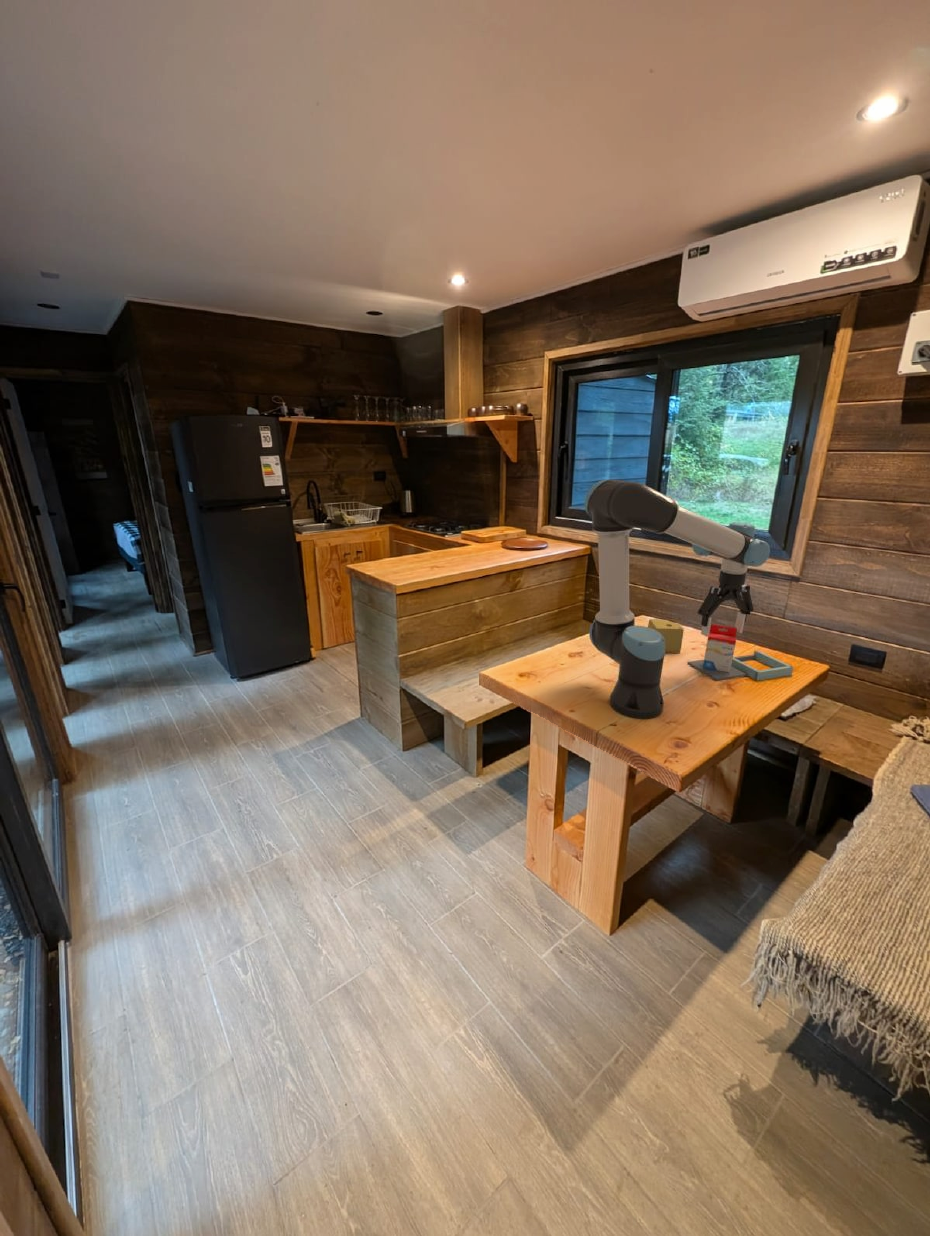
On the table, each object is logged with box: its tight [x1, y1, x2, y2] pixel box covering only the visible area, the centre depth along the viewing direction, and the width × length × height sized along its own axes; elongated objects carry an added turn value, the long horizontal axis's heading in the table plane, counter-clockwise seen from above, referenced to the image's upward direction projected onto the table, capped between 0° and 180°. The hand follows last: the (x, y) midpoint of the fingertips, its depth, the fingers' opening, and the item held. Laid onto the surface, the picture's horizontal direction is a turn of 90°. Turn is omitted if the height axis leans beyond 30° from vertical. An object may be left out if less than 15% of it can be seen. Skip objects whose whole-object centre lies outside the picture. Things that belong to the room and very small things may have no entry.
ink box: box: [703, 624, 738, 672], centre depth 170 cm, size 8×5×15 cm, turn 62°
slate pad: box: [687, 659, 747, 682], centre depth 173 cm, size 12×14×1 cm
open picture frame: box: [731, 649, 794, 682], centre depth 173 cm, size 14×15×3 cm
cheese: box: [647, 618, 685, 654], centre depth 190 cm, size 10×11×10 cm
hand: (721, 633), depth 168 cm, fingers open, 13 cm apart
